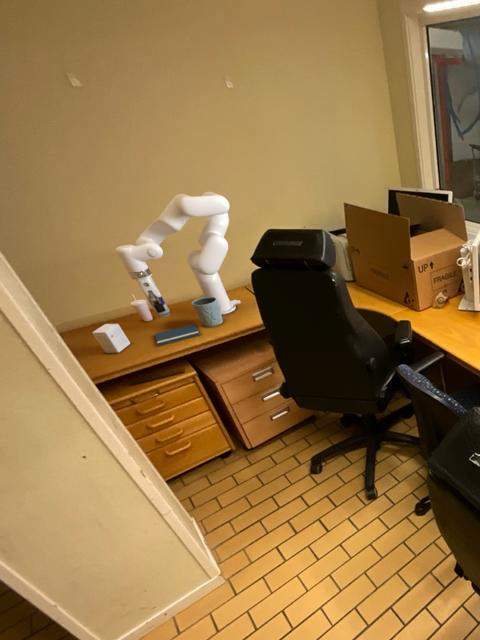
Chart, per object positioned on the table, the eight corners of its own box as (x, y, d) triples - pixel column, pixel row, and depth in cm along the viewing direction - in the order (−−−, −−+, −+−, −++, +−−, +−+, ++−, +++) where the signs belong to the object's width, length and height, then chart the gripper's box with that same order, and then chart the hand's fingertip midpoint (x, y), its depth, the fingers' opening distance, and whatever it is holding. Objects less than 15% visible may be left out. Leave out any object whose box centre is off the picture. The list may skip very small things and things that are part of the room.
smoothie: (137, 321, 196) (122, 295, 188) (150, 315, 201) (136, 290, 193) (145, 323, 194) (130, 297, 186) (159, 318, 199) (144, 292, 191)
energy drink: (173, 312, 191) (160, 289, 183) (165, 317, 186) (151, 294, 179) (163, 311, 191) (150, 289, 184) (154, 317, 187) (141, 294, 180)
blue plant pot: (198, 323, 195) (187, 301, 188) (219, 316, 202) (209, 294, 195) (208, 329, 190) (197, 307, 183) (229, 321, 197) (220, 299, 190)
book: (195, 325, 193) (194, 323, 192) (199, 335, 186) (198, 333, 185) (156, 335, 185) (155, 333, 184) (158, 345, 177) (157, 344, 177)
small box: (118, 344, 178) (104, 323, 172) (131, 343, 178) (118, 323, 172) (105, 353, 171) (91, 332, 165) (118, 353, 172) (105, 332, 166)
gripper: (152, 277, 173) (173, 313, 184) (148, 266, 183) (168, 301, 194) (131, 281, 169) (153, 318, 180) (128, 270, 180) (150, 305, 190)
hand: (161, 309), depth 187 cm, fingers closed on energy drink, 5 cm apart
